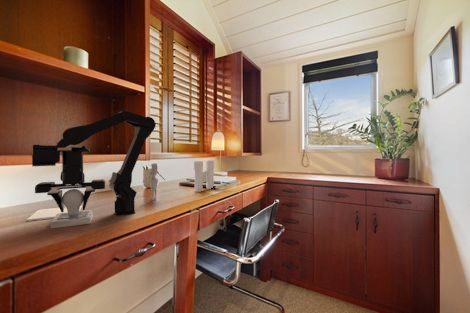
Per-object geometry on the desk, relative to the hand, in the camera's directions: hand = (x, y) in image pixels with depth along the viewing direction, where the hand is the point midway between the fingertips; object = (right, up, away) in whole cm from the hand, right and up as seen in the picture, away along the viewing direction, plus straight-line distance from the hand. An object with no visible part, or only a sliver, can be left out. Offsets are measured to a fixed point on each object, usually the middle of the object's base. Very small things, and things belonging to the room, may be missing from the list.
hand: (73, 210), depth 76 cm
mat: (-13, -3, +9) cm, 16 cm away
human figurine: (+16, -3, +32) cm, 36 cm away
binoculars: (+36, -2, +62) cm, 72 cm away
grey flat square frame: (0, -4, 0) cm, 4 cm away
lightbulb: (0, -4, 0) cm, 4 cm away
